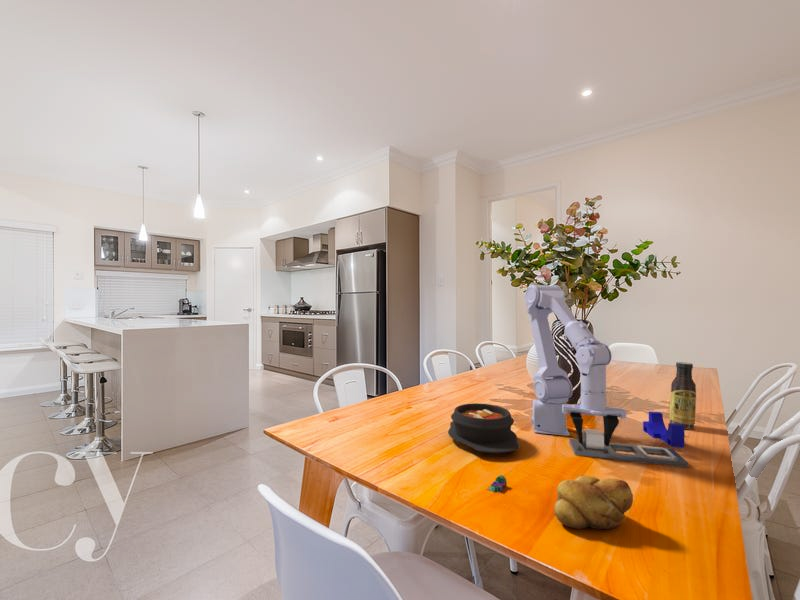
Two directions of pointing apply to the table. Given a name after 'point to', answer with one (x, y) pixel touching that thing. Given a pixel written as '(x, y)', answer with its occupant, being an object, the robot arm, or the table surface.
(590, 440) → the pale grey upright block
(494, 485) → the green purple lumpy wedge
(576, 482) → the bread roll
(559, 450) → the table surface
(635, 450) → the grey slotted tray
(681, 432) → the cable clip
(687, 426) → the sauce bottle
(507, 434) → the casserole
